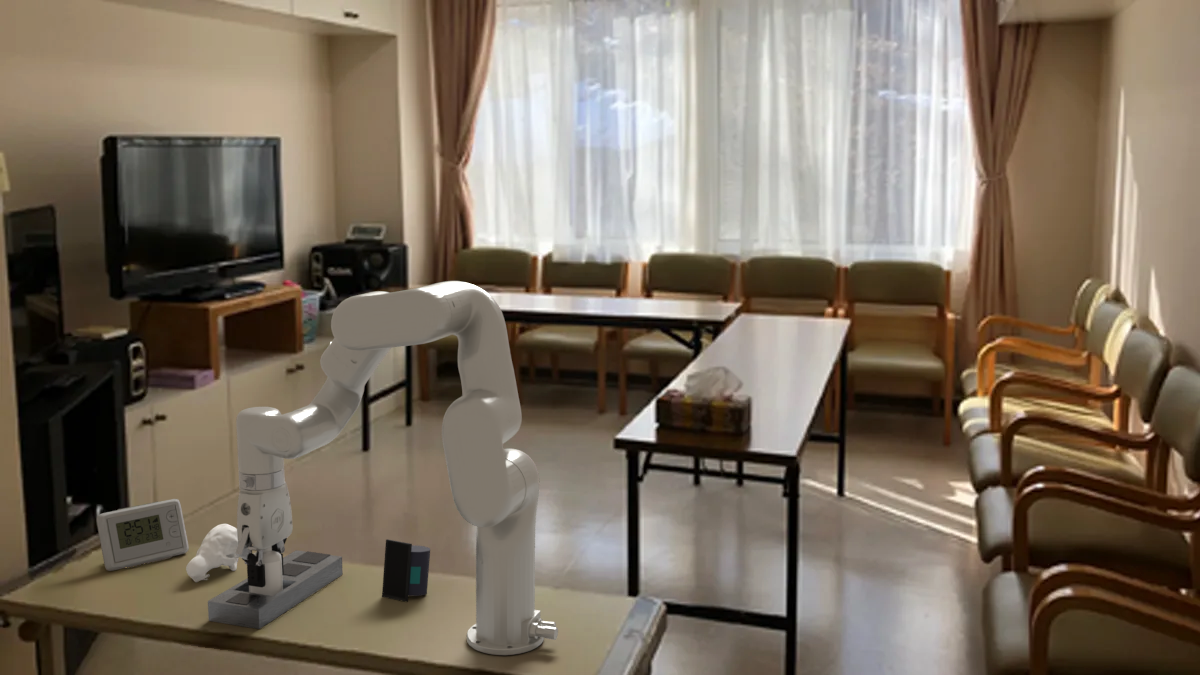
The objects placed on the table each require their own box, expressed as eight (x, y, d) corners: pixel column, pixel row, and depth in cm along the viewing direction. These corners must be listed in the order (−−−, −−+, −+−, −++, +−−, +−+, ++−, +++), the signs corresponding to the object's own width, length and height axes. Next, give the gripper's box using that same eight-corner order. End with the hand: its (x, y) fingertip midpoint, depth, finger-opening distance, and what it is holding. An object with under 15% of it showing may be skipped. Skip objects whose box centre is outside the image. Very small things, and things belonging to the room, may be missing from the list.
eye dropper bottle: (274, 603, 187) (272, 537, 185) (245, 601, 188) (242, 534, 186) (287, 594, 191) (284, 529, 189) (258, 591, 192) (255, 526, 190)
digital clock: (102, 575, 203) (99, 520, 201) (95, 560, 210) (92, 507, 208) (193, 559, 211) (190, 506, 209) (183, 545, 219) (180, 494, 217)
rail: (342, 574, 204) (342, 556, 204) (259, 629, 180) (258, 608, 179) (296, 567, 207) (296, 549, 207) (208, 620, 183) (207, 600, 182)
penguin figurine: (244, 522, 206) (200, 548, 195) (248, 563, 208) (205, 591, 197) (217, 518, 208) (172, 543, 198) (221, 559, 211) (178, 586, 200)
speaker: (399, 604, 190) (402, 546, 189) (381, 596, 194) (383, 539, 193) (435, 597, 195) (437, 540, 195) (416, 589, 199) (418, 534, 199)
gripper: (250, 495, 177) (254, 601, 180) (308, 468, 193) (311, 566, 196) (211, 490, 179) (216, 595, 182) (272, 464, 195) (276, 561, 198)
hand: (266, 579), depth 189 cm, fingers closed on eye dropper bottle, 4 cm apart
